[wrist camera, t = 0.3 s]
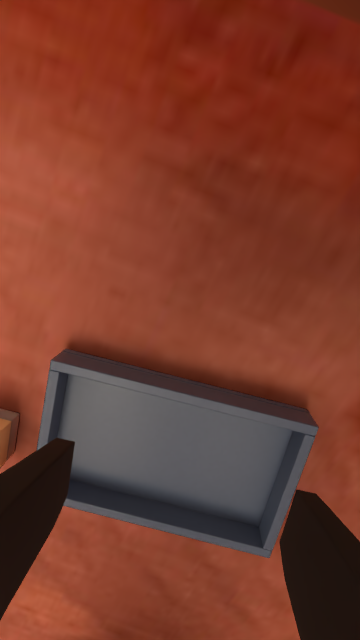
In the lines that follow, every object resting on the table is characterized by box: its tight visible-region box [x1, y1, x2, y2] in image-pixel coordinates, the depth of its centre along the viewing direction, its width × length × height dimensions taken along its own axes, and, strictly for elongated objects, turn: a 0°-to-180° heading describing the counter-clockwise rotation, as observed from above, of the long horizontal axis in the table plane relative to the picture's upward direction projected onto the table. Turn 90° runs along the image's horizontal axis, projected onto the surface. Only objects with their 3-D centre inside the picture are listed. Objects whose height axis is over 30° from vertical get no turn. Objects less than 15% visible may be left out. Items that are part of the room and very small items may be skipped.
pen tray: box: [37, 349, 318, 558], centre depth 20 cm, size 9×15×2 cm, turn 76°
